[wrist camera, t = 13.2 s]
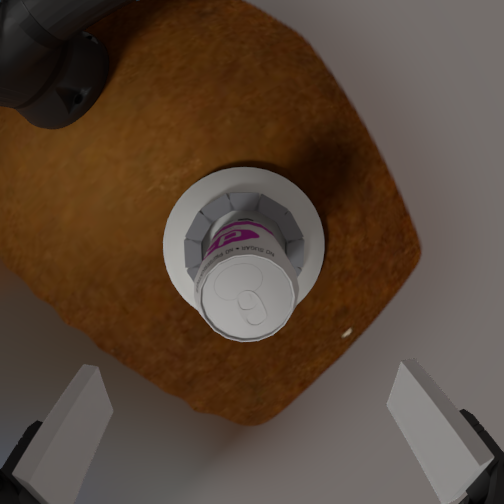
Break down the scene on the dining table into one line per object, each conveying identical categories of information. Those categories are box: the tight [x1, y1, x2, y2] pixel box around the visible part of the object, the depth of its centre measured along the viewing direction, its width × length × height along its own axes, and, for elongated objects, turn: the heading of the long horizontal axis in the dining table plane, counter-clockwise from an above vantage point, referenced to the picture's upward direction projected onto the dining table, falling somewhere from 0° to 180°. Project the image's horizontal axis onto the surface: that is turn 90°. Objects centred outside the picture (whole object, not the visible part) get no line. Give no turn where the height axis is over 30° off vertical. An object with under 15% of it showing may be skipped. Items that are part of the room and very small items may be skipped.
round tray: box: [163, 167, 324, 310], centre depth 35 cm, size 20×20×3 cm
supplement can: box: [194, 218, 299, 342], centre depth 28 cm, size 8×8×15 cm
